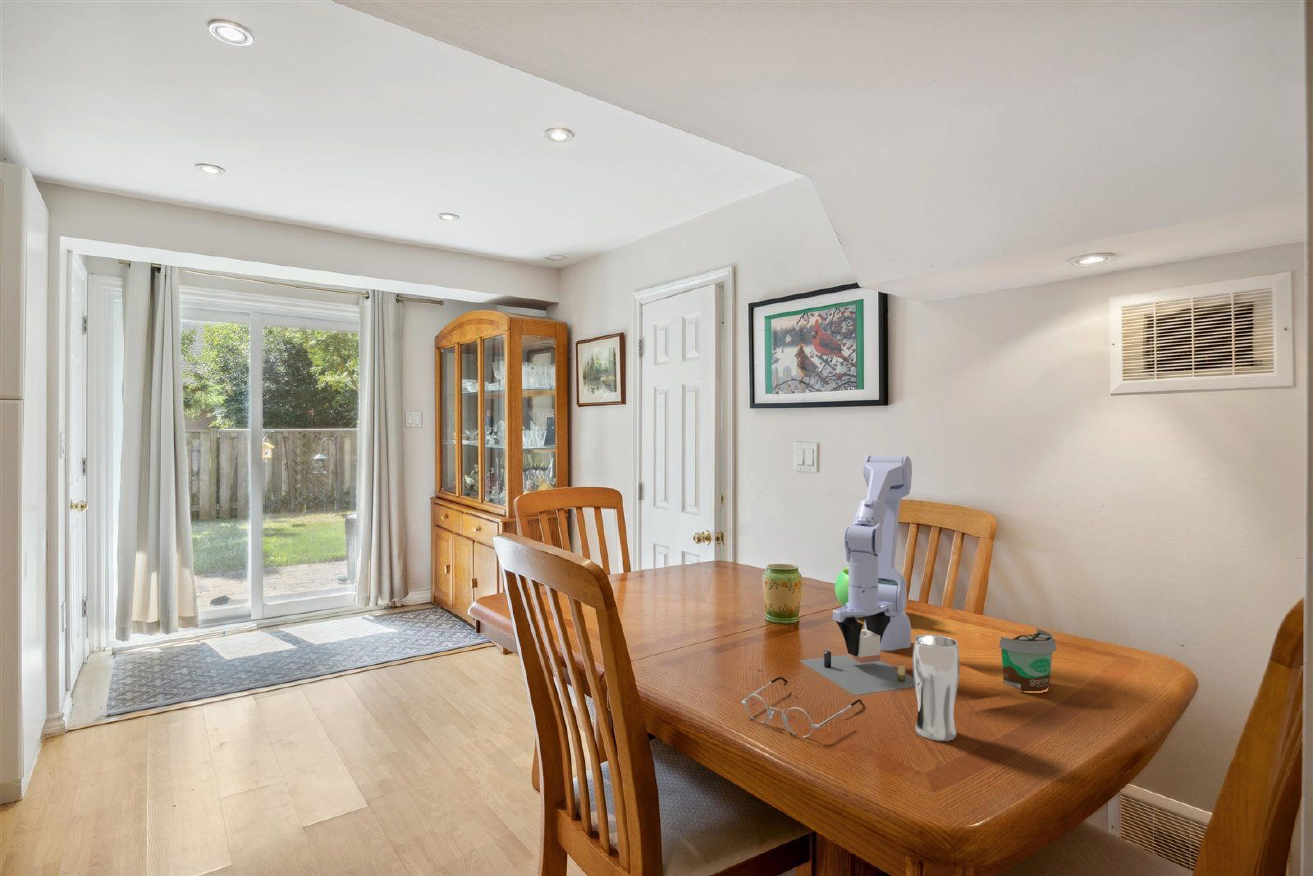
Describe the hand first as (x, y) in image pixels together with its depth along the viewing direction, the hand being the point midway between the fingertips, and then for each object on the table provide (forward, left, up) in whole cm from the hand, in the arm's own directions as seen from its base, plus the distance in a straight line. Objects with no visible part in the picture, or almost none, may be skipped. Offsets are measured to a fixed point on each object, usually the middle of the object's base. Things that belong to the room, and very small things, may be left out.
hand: (863, 652), depth 131 cm
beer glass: (+5, +26, -5) cm, 27 cm away
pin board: (+3, +3, -4) cm, 6 cm away
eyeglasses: (+21, +13, -5) cm, 25 cm away
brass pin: (-2, +9, -3) cm, 10 cm away
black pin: (+7, -2, -3) cm, 8 cm away
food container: (-26, +17, -5) cm, 31 cm away
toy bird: (-28, -36, -5) cm, 46 cm away
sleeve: (0, 0, -1) cm, 1 cm away
